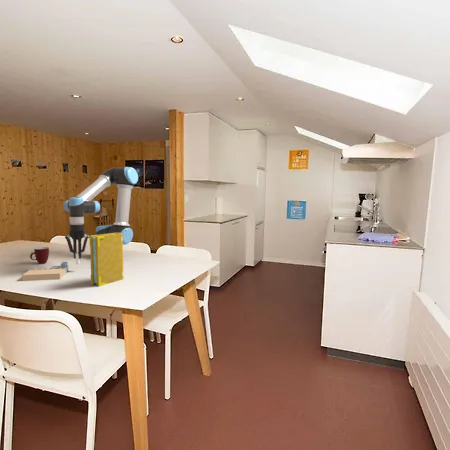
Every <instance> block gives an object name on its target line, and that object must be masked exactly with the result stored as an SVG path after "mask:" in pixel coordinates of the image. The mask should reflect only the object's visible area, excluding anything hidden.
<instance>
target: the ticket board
mask: <svg viewBox="0 0 450 450" xmlns="http://www.w3.org/2000/svg"><path fill="white" fill-rule="evenodd" d="M66 274H67V272H66V268H55V269H53V268H52V269H50V268H35V269H34V268H31V269H29V270H28V271H26V272H25V273H23V274H22V275H21V281H22V282H25V281H44V280H45V281H47V280H48V281H49V280H50V281H51V280H60V279H62V278H63V277H64V276H65V275H66Z"/></svg>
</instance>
